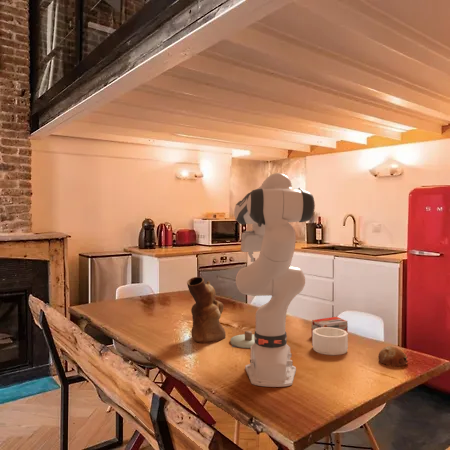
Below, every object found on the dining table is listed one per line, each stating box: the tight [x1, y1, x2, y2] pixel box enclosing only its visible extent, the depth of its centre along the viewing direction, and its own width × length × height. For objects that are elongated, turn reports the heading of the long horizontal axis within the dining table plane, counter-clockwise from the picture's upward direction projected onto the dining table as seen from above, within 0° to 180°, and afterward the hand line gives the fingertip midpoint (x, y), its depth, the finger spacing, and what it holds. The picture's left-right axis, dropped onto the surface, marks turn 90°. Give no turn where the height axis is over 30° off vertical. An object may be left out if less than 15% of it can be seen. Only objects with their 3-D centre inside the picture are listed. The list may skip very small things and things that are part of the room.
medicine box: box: [311, 316, 349, 338], centre depth 192 cm, size 15×8×8 cm, turn 114°
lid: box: [230, 330, 255, 349], centre depth 183 cm, size 16×16×5 cm
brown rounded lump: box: [377, 345, 409, 367], centre depth 160 cm, size 10×10×8 cm
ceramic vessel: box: [186, 276, 226, 344], centre depth 186 cm, size 16×22×30 cm
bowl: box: [311, 327, 349, 356], centre depth 174 cm, size 14×14×8 cm
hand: (262, 261), depth 182 cm, fingers open, 8 cm apart
